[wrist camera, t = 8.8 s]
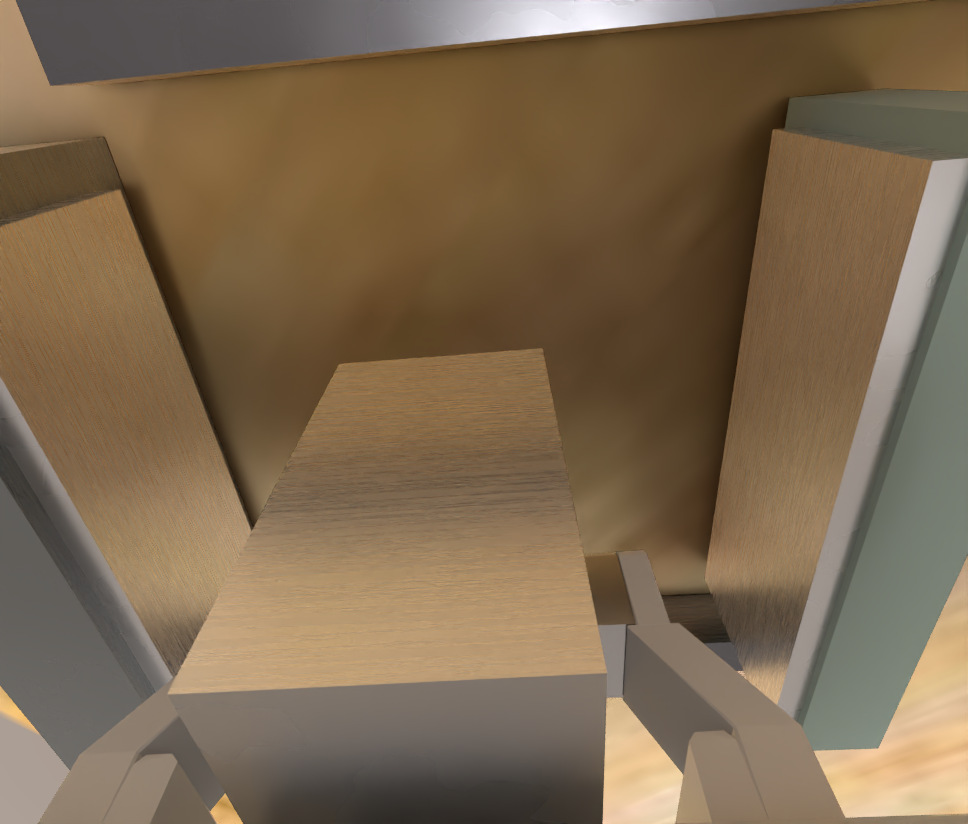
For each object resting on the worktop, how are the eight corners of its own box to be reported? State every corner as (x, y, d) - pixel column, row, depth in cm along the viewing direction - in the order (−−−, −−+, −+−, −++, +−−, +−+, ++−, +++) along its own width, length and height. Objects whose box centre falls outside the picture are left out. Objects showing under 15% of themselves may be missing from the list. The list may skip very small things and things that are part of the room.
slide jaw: (886, 88, 12) (1178, 99, 7) (774, 567, 19) (878, 748, 14) (761, 100, 12) (956, 119, 7) (695, 571, 19) (769, 752, 14)
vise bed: (1108, -114, 11) (1784, -320, 5) (852, 615, 21) (985, 815, 15) (-85, 18, 12) (-591, -31, 6) (220, 645, 22) (127, 840, 16)
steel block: (542, 347, 11) (606, 672, 5) (552, 600, 15) (598, 970, 9) (338, 363, 11) (166, 694, 5) (397, 609, 15) (334, 975, 9)
